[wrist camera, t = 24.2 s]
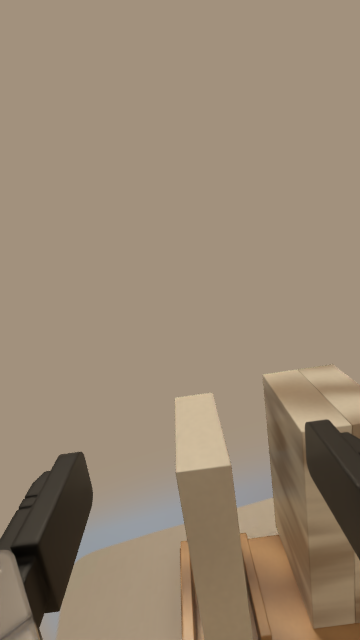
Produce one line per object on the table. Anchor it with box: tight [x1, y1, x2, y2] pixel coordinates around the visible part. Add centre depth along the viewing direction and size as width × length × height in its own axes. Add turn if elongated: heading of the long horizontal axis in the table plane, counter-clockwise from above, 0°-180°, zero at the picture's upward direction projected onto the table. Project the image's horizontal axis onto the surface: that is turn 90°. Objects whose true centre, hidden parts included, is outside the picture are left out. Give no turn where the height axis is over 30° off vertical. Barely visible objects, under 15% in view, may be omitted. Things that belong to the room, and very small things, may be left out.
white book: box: [175, 393, 253, 640], centre depth 24 cm, size 9×3×17 cm, turn 1°
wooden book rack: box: [180, 365, 360, 640], centre depth 25 cm, size 12×17×18 cm
